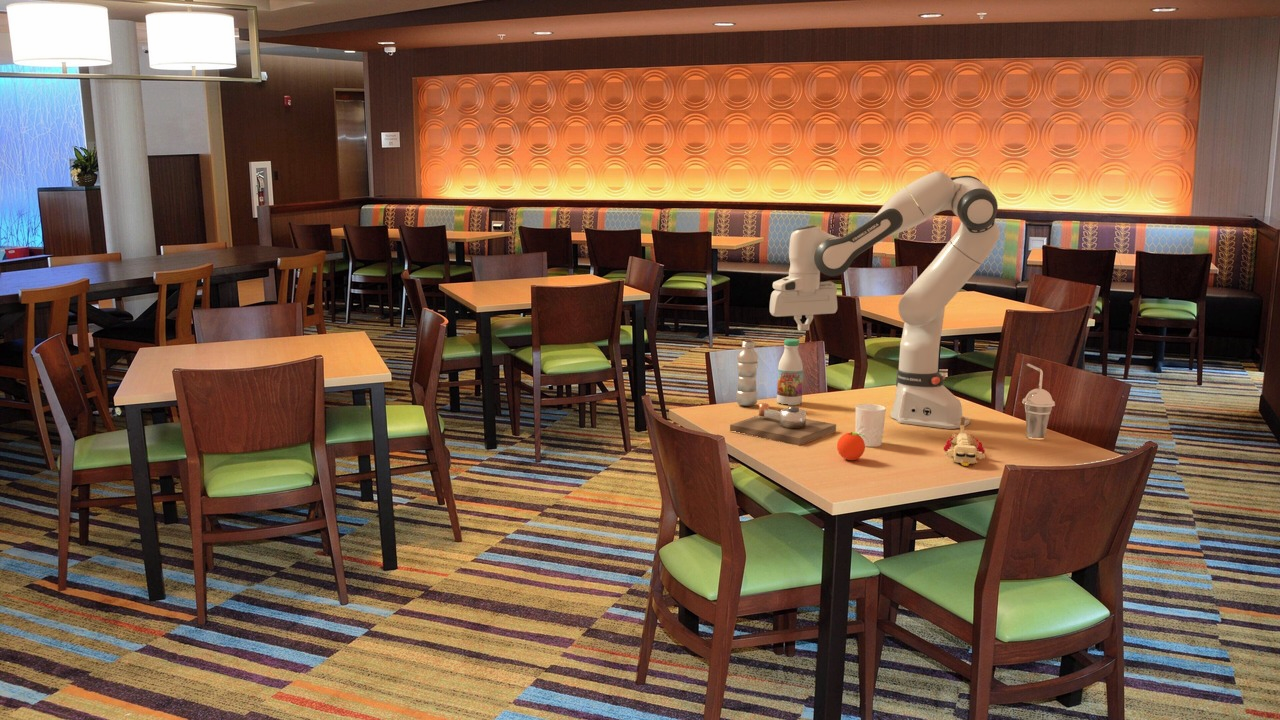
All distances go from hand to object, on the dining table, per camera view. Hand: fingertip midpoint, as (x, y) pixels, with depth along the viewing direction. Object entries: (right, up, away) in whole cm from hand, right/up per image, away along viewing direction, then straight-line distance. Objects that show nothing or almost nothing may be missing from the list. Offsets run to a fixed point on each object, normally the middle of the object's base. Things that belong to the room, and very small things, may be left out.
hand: (803, 330), depth 304 cm
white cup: (+14, -31, -24) cm, 42 cm away
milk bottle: (-1, -22, +22) cm, 32 cm away
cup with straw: (+61, -30, -16) cm, 70 cm away
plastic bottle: (-15, -23, +18) cm, 33 cm away
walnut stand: (-8, -28, -13) cm, 32 cm away
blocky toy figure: (+36, -34, -34) cm, 60 cm away
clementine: (+6, -34, -40) cm, 53 cm away
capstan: (-8, -26, -12) cm, 30 cm away
